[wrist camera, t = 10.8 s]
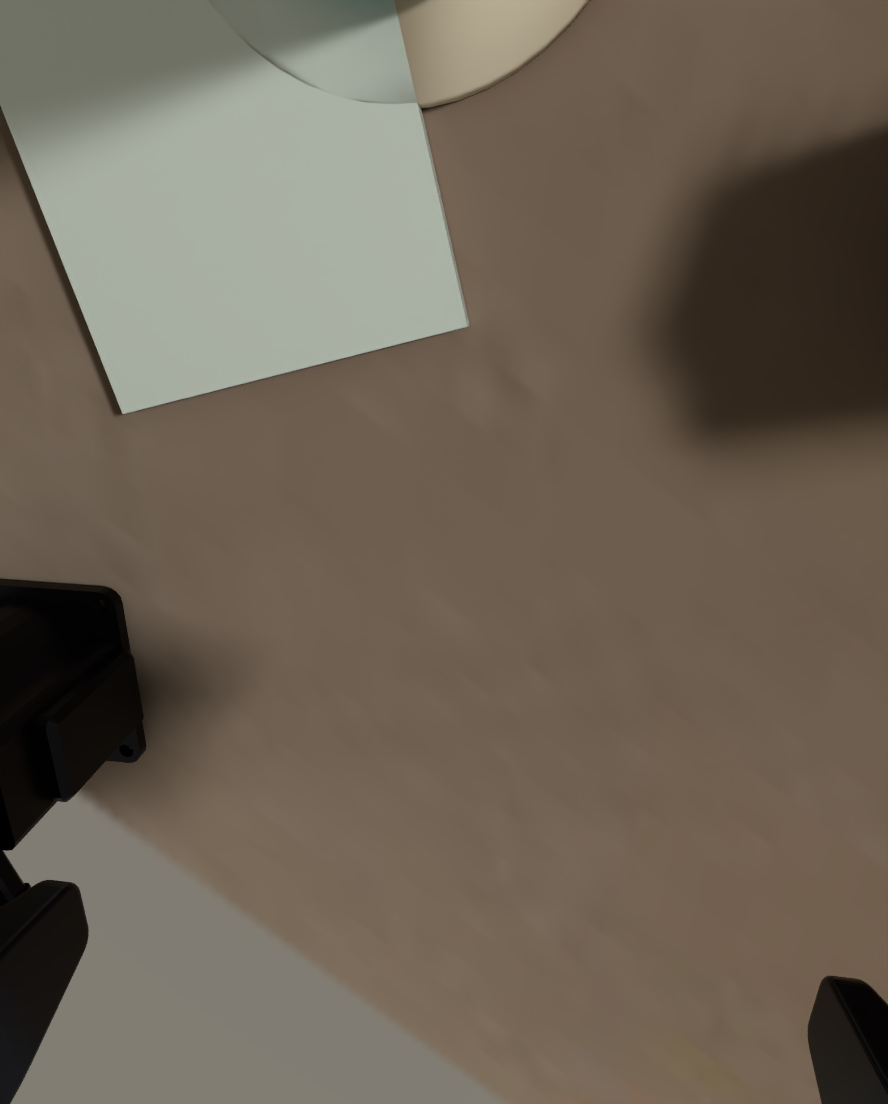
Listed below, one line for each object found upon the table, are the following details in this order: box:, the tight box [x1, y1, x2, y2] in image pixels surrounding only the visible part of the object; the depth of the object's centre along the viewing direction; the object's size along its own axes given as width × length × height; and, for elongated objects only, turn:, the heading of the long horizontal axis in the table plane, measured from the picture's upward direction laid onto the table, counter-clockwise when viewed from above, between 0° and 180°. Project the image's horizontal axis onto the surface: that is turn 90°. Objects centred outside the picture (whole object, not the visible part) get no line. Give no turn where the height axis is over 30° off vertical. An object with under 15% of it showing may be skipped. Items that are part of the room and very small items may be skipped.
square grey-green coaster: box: [0, 0, 469, 414], centre depth 17 cm, size 10×10×1 cm
